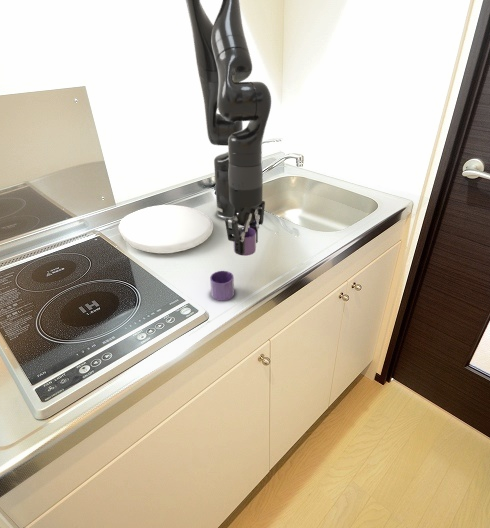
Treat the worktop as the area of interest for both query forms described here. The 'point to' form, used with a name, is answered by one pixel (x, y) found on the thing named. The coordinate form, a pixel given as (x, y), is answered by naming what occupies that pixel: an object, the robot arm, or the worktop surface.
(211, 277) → the ramekin
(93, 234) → the worktop surface
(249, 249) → the ramekin
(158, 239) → the plate
